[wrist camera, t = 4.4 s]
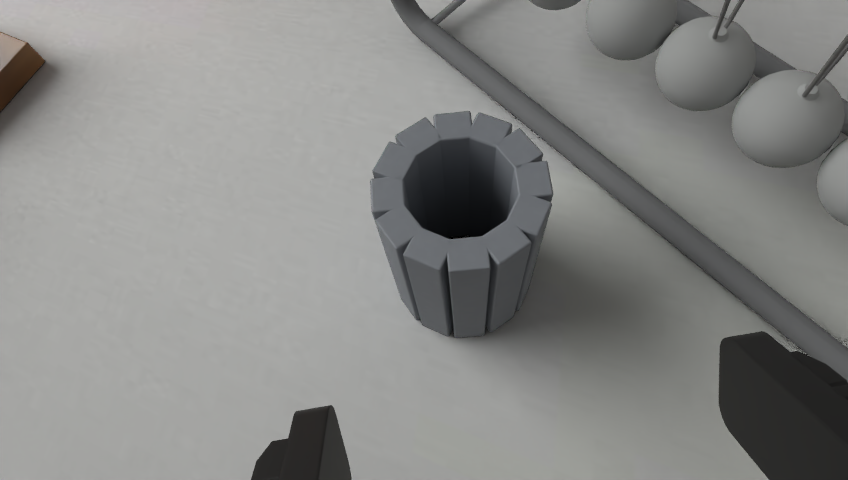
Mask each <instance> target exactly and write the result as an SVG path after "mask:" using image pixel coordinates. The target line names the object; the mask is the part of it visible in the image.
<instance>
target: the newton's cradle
mask: <svg viewBox="0 0 848 480" xmlns="http://www.w3.org/2000/svg"><path fill="white" fill-rule="evenodd" d="M465 1H466V0H454V1H453V2H452V3H451V4H449V5H448V6H447V7H446V8H445V9H443V10H442V11H441V12H440V13H439V14H437V15H436V16H435V17H434V18H433V19H430V18H429V17H428V16H427V15H426V14H425V13H424V12H423V11H422V9H421V8H420V7H419V5H418V4H417V2H416V1H415V0H391V2H392V3H393V5H394V7H395V9H396V11H397V13H398V14H399V16H400V17H401V19H402V20H403V22H404V23H405V24H406V25H407V26H408V28H409V29H410V30H411V31H412V32H413V33H414V34H415V35H416V36H417V37H418V38H419V39H421V40H422V41H423V42H424V43H426V44H427V45H428V46H429V47H430V48H432V49H433V50H434V51H435V52H437V53H438V54H439V55H440V56H442V57H443V58H444V59H445V60H446V61H448V62H449V63H450V64H451V65H453V66H454V67H455V68H456V69H458V70H459V71H460V72H461V73H462V74H464V75H465V76H466V77H467V78H469V79H470V80H471V81H472V82H474V83H475V84H476V85H477V86H478V87H480V88H481V89H482V90H483V91H485V92H486V93H487V94H488V95H490V96H491V97H492V98H493V99H494V100H496V101H497V102H498V103H499V104H501V105H502V106H503V107H504V108H506V109H507V110H508V111H509V112H510V113H512V114H513V115H514V116H515V117H517V118H518V119H519V120H520V121H522V122H523V123H524V124H525V125H526V126H528V127H529V128H530V129H531V130H533V131H534V132H535V133H536V134H538V135H539V136H540V137H541V138H542V139H544V140H545V141H546V142H547V143H549V144H550V145H551V146H552V147H553V148H555V149H556V150H557V151H558V152H560V153H561V154H562V155H563V156H565V157H566V158H567V159H568V160H569V161H571V162H572V163H573V164H574V165H576V166H577V167H578V168H579V169H581V170H582V171H583V172H584V173H585V174H587V175H588V176H589V177H590V178H592V179H593V180H594V181H595V182H597V183H598V184H599V185H600V186H601V187H603V188H604V189H605V190H606V191H608V192H609V193H610V194H611V195H613V196H614V197H615V198H616V199H617V200H619V201H620V202H621V203H622V204H624V205H625V206H626V207H627V208H629V209H630V210H631V211H632V212H633V213H635V214H636V215H637V216H638V217H640V218H641V219H642V220H643V221H645V222H646V223H647V224H648V225H649V226H651V227H652V228H653V229H654V230H656V231H657V232H658V233H659V234H661V235H662V236H663V237H664V238H665V239H667V240H668V241H669V242H670V243H672V244H673V245H674V246H675V247H676V248H678V249H679V250H680V251H681V252H683V253H684V254H685V255H686V256H688V257H689V258H690V259H691V260H692V261H694V262H695V263H696V264H697V265H699V266H700V267H701V268H702V269H704V270H705V271H706V272H707V273H708V274H710V275H711V276H712V277H713V278H715V279H716V280H717V281H718V282H720V283H721V284H722V285H723V286H724V287H726V288H727V289H728V290H729V291H731V292H732V293H733V294H734V295H736V296H737V297H738V298H739V299H740V300H742V301H743V302H744V303H745V304H747V305H748V306H749V307H750V308H752V309H753V310H754V311H755V312H756V313H758V314H759V315H760V316H761V317H763V318H764V319H765V320H766V321H768V322H769V323H770V324H771V325H772V326H774V327H775V328H776V329H777V330H779V331H780V332H781V333H782V334H784V335H785V336H786V337H787V338H788V339H790V340H791V341H792V342H793V343H795V344H796V345H797V346H798V347H799V348H801V349H802V350H803V351H804V352H806V353H807V354H808V355H809V356H811V357H812V358H814V359H816V360H819V361H821V362H823V363H825V364H827V365H828V366H829V367H831V368H832V369H833V370H835V371H836V372H837V373H838V374H840V375H841V376H842V377H843V378H845V379H846V380H847V382H848V348H847V347H845V346H844V345H843V344H842V343H840V342H839V341H838V340H836V339H835V338H834V337H833V336H831V335H830V334H829V333H828V332H826V331H825V330H824V329H822V328H821V327H820V326H819V325H817V324H816V323H815V322H814V321H812V320H811V319H810V318H809V317H807V316H806V315H805V314H803V313H802V312H801V311H800V310H798V309H797V308H796V307H795V306H793V305H792V304H791V303H790V302H788V301H787V300H786V299H784V298H783V297H782V296H781V295H779V294H778V293H777V292H776V291H774V290H773V289H772V288H771V287H769V286H768V285H767V284H765V283H764V282H763V281H762V280H760V279H759V278H758V277H757V276H755V275H754V274H753V273H751V272H750V271H749V270H748V269H746V268H745V267H744V266H743V265H741V264H740V263H739V262H738V261H736V260H735V259H734V258H732V257H731V256H730V255H729V254H727V253H726V252H725V251H724V250H722V249H721V248H720V247H719V246H717V245H716V244H715V243H713V242H712V241H711V240H710V239H708V238H707V237H706V236H705V235H703V234H702V233H701V232H700V231H698V230H697V229H696V228H694V227H693V226H692V225H691V224H689V223H688V222H687V221H686V220H684V219H683V218H682V217H680V216H679V215H678V214H677V213H675V212H674V211H673V210H672V209H670V208H669V207H668V206H667V205H665V204H664V203H663V202H661V201H660V200H659V199H658V198H656V197H655V196H654V195H653V194H651V193H650V192H649V191H648V190H646V189H645V188H644V187H642V186H641V185H640V184H639V183H637V182H636V181H635V180H634V179H632V178H631V177H630V176H629V175H627V174H626V173H625V172H623V171H622V170H621V169H620V168H618V167H617V166H616V165H615V164H613V163H612V162H611V161H610V160H608V159H607V158H606V157H604V156H603V155H602V154H601V153H599V152H598V151H597V150H596V149H594V148H593V147H592V146H590V145H589V144H588V143H587V142H585V141H584V140H583V139H582V138H580V137H579V136H578V135H577V134H575V133H574V132H573V131H571V130H570V129H569V128H568V127H566V126H565V125H564V124H563V123H561V122H560V121H559V120H558V119H556V118H555V117H554V116H552V115H551V114H550V113H549V112H547V111H546V110H545V109H544V108H542V107H541V106H540V105H539V104H537V103H536V102H535V101H533V100H532V99H531V98H530V97H528V96H527V95H526V94H525V93H523V92H522V91H521V90H519V89H518V88H517V87H516V86H514V85H513V84H512V83H511V82H509V81H508V80H507V79H506V78H504V77H503V76H502V75H500V74H499V73H498V72H497V71H495V70H494V69H493V68H492V67H490V66H489V65H488V64H487V63H485V62H484V61H483V60H481V59H480V58H479V57H478V56H476V55H475V54H474V53H473V52H471V51H470V50H469V49H468V48H466V47H465V46H464V45H462V44H461V43H460V42H459V41H457V40H456V39H455V38H454V37H452V36H451V35H450V34H448V33H447V32H446V31H445V30H443V29H442V28H441V27H440V26H438V25H437V24H439V23H440V22H441V21H442V20H443V19H445V18H446V17H447V16H448V15H449V14H450V13H452V12H453V11H454V10H455V9H456V8H458V7H459V6H460V5H461V4H462V3H464V2H465ZM529 1H530V2H532V3H533V4H535V5H536V6H538V7H541V8H543V9H548V10H561V9H565V8H569V7H571V6H573V5H575V4H577V3H578V2H579V1H581V0H529ZM743 2H744V0H739V1H738V3H737V5H736V7H735V8H734V10H733V12H732V13H731V15H730V17H729V19H727V18H724V16H725V14H726V11H727V8H728V6H729V3H730V0H725V3H724V5H723V8H722V11H721V14H720V16H719V17H717V16H711V15H710V14H708V13H707V12H705V11H703V10H702V9H700V8H699V7H697V6H696V5H694V4H692V3H691V2H689V1H688V0H590V2H589V5H588V8H587V11H586V27H587V32H588V35H589V37H590V39H591V41H592V43H593V44H594V45H595V46H596V48H597V49H598V50H599V51H600V52H602V53H603V54H605V55H606V56H608V57H611V58H614V59H618V60H635V59H639V58H642V57H644V56H646V55H648V54H650V53H652V52H654V51H655V50H656V49H658V48H659V47H660V46H661V45H662V44H663V45H662V47H661V48H660V50H659V52H658V56H657V59H656V64H655V74H656V80H657V84H658V86H659V88H660V90H661V91H662V93H663V94H664V96H665V97H666V98H667V99H668V100H669V101H670V102H672V103H673V104H675V105H677V106H678V107H681V108H683V109H687V110H691V111H707V110H712V109H715V108H719V107H721V106H723V105H725V104H727V103H729V102H730V101H732V100H733V99H735V98H736V97H737V96H739V94H740V93H741V92H742V91H743V90H744V89H745V87H746V86H747V85H748V83H749V81H750V79H751V77H752V75H753V74H754V75H756V76H757V77H759V78H760V80H758V81H756V82H755V83H754V84H752V85H751V86H750V87H749V88H748V89H747V90H746V91H745V92H744V93H743V95H742V96H741V97H740V98H739V100H738V102H737V104H736V107H735V109H734V112H733V116H732V132H733V136H734V139H735V141H736V143H737V145H738V147H739V148H740V149H741V150H742V152H743V153H744V154H745V155H746V156H748V157H749V158H750V159H752V160H754V161H755V162H757V163H760V164H762V165H765V166H770V167H778V168H788V167H795V166H799V165H802V164H805V163H808V162H810V161H812V160H814V159H816V158H818V157H819V156H821V155H822V154H823V153H825V152H826V151H827V150H828V149H829V148H830V147H831V146H832V144H833V143H834V142H835V140H836V139H837V138H838V136H839V134H840V132H843V133H844V134H846V135H847V136H848V102H847V101H846V100H844V99H843V98H841V96H840V94H839V93H838V91H837V89H836V88H835V87H834V86H833V85H832V84H831V83H830V82H829V81H828V80H826V79H825V77H826V76H827V74H828V73H829V72H830V71H831V70H832V69H833V67H834V66H835V65H836V64H837V63H838V62H839V60H840V59H841V58H842V57H843V56H844V55H845V53H846V52H847V51H848V35H847V36H846V37H845V39H844V40H843V41H842V43H841V44H840V45H839V47H838V48H837V49H836V50H835V52H834V53H833V54H832V56H831V57H830V58H829V60H828V61H827V62H826V64H825V65H824V66H823V68H822V69H821V70H820V72H819V73H818V74H815V73H812V72H808V71H803V70H797V69H795V68H794V67H792V66H790V65H789V64H787V63H786V62H784V61H783V60H781V59H779V58H778V57H776V56H775V55H773V54H771V53H770V52H768V51H767V50H765V49H764V48H762V47H760V46H759V45H757V44H756V43H754V42H753V41H752V39H751V37H750V36H749V34H748V33H747V32H746V31H745V30H744V29H743V28H742V27H741V26H740V25H739V24H737V23H736V22H734V21H732V20H733V19H734V17H735V15H736V14H737V12H738V10H739V8H740V7H741V5H742V3H743ZM675 23H676V24H678V25H679V27H678V28H677V29H675V30H674V31H673V32H672V33H671V31H672V29H673V27H674V24H675ZM670 33H671V34H670ZM816 184H817V192H818V196H819V199H820V201H821V203H822V205H823V207H824V208H825V209H826V211H827V212H828V213H829V214H830V215H831V216H832V217H834V218H835V219H836V220H837V221H839V222H841V223H842V224H844V225H847V226H848V139H846V140H844V141H842V142H841V143H840V144H838V145H837V146H836V147H835V148H833V149H832V150H831V151H830V153H829V154H828V155H827V156H826V158H825V159H824V160H823V162H822V164H821V166H820V168H819V171H818V175H817V181H816Z"/></svg>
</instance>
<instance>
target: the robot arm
mask: <svg viewBox="0 0 848 480" xmlns="http://www.w3.org/2000/svg"><path fill="white" fill-rule="evenodd" d="M719 407H720V411H721V415H722V418H723V420H724V423H725V425H726V427H727V428H728V430H729V431H730V433H731V434H732V435H733V436H734V438H735V439H736V440H737V441H738V443H739V444H740V445H741V446H742V447H743V449H744V450H745V451H746V452H747V453H748V455H749V456H750V457H751V458H752V459H753V461H754V462H755V463H756V464H757V465H758V467H759V468H760V469H761V470H762V472H763V473H764V474H765V475H766V476H767V478H768V479H769V480H848V382H847V380H846V379H845V378H843V377H842V376H841V375H840V374H838V373H837V372H836V371H835V370H833V369H832V368H831V367H829V366H828V365H827V364H825V363H823V362H821V361H819V360H816V359H814V358H812V357H810V356H807V355H805V354H803V353H800V352H798V351H795V352H789V351H788V350H787V349H786V348H784V347H783V346H782V345H781V344H780V343H778V342H777V341H776V340H775V339H774V338H772V337H771V336H770V335H769V334H767V333H765V332H762V331H761V332H755V333H750V334H744V335H738V336H732V337H727V338H724V339H723V340H722V341H721V344H720V363H719ZM251 480H351V472H350V466H349V462H348V458H347V454H346V451H345V447H344V443H343V439H342V436H341V432H340V428H339V424H338V420H337V417H336V413H335V410H334V408H333V406H332V405H330V406H324V407H318V408H312V409H307V410H301V411H296V412H295V414H294V416H293V421H292V425H291V429H290V433H289V438H288V439H282V440H277V441H272V442H271V443H270V445H269V446H268V447H267V448H266V450H265V451H264V452H263V454H262V455H261V456H260V457H259V459H258V460H257V461H256V465H255V468H254V471H253V475H252V478H251Z"/></svg>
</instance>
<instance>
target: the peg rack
mask: <svg viewBox="0 0 848 480" xmlns="http://www.w3.org/2000/svg"><path fill="white" fill-rule="evenodd" d="M44 62H45V60H44V59H43V58H42V57H41V56H40V55H39V54H38V53H37V52H36V51H35V50H34V49H33V48H32V47H31V46H30V45H29V44H28V43H27V42H24V41H22V40H19V39H17V38H14V37H12V36H9V35H7V34H4V33H2V32H0V112H1V111H2V110H3V108H4V107H5V106H6V105H7V104H8V103H9V102H10V101H11V99H12V98H13V97H14V96H15V95H16V94H17V93H18V91H19V90H20V89H21V88H22V87H23V86H24V85H25V84H26V82H27V81H28V80H29V79H30V78H31V77H32V76H33V74H34V73H35V72H36V71H37V70H38V69H39V68H40V67H41V65H42V64H43V63H44Z"/></svg>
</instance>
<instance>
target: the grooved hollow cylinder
mask: <svg viewBox="0 0 848 480" xmlns="http://www.w3.org/2000/svg"><path fill="white" fill-rule="evenodd" d="M433 119H434V126H433V125H432V124H431V123H430V121H429V120H428V119H427V118H426V117H425V118H423V119H422V120H420V121H418V122H417V123H415V124H413V125H412V126H410V127H409V128H407V129H405V130H404V131H402V132H400V133H399V134H397V135H396V136H395V137H396V142H397V144H395V143H393V142H389V143H388V145H387V147H386V148H385V150H384V152H383V153H382V155H381V157H380V159H379V160H378V162H377V164H376V166H375V167H374V169H373V175H374V179H371V181H370V184H371V208H372V214H373V217H374V220H375V223H376V226H377V229H378V232H379V235H380V238H381V241H382V243H383V246H384V249H385V252H386V255H387V258H388V261H389V264H390V267H391V270H392V273H393V276H394V279H395V282H396V285H397V288H398V291H399V293H400V296H401V299H402V301H403V302H404V303H405V305H406V306H407V308H408V309H409V311H410V312H411V313H412V315H413V316H414V318H415V319H416V320H419V319H421V322H422V325H423V326H425V327H428V328H430V329H432V330H434V331H436V332H439V333H441V334H443V335H445V336H449V335H450V332H451V330H452V328H453V327H454V337H455V338H460V337H471V336H482V335H484V334H485V326H486V328H487V329H488V330H489V331H490V332H493V331H494V330H495V329H497V328H498V327H500V326H501V325H502V324H504V323H505V322H507V321H508V320H510V319H511V318H512V317H513V316H514V313H515V310H516V311H518V310H519V309H520V306H521V304H522V302H523V299H524V297H525V295H526V293H527V290H528V288H529V285H530V281H531V277H532V274H533V270H534V267H535V263H536V260H537V256H538V253H539V249H540V245H541V242H542V238H543V235H544V231H545V228H546V224H547V221H548V217H549V213H550V210H551V206H552V203H551V200H552V197H553V190H552V184H551V179H550V173H549V168H548V163H547V161H542V157H543V153H542V152H541V151H540V150H539V148H538V147H537V146H536V145H535V144H534V143H533V142H532V141H531V140H530V139H529V138H528V137H527V136H526V134H525V133H524V132H523V131H522V130H521V129H520V128H519V129H517V130H516V131H514V132H512V133H511V131H512V124H511V123H508V122H505V121H503V120H500V119H497V118H494V117H491V116H488V115H485V114H483V113H478V114H477V115H476V117H475V119H474V121H473V123H472V120H471V113H470V111H464V112H455V113H445V114H436V115H434V117H433ZM463 235H471V236H473V237H469V238H459V239H448V237H453V236H463Z"/></svg>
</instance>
